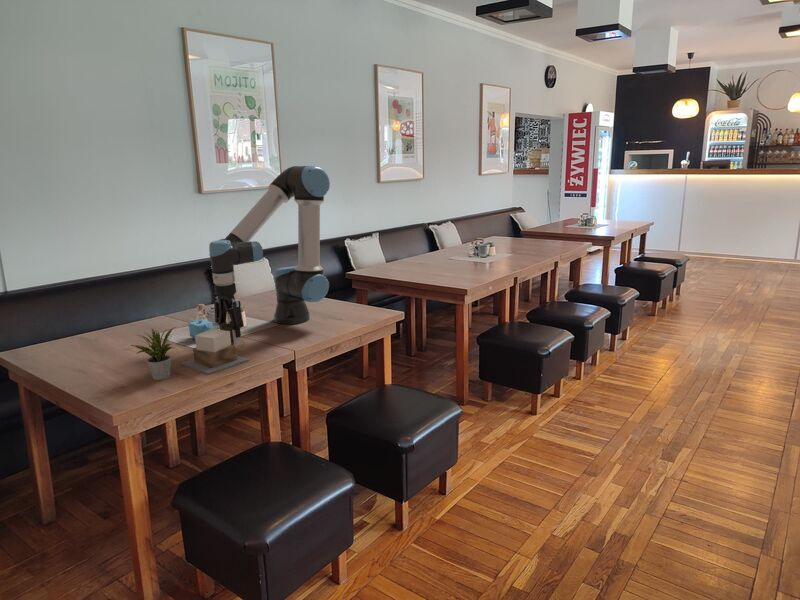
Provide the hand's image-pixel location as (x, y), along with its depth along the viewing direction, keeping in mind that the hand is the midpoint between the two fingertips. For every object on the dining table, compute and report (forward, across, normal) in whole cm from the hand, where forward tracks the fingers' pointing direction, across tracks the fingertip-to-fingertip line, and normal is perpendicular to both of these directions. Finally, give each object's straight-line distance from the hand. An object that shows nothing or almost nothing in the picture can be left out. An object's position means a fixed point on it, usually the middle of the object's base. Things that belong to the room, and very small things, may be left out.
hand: (231, 343), depth 210 cm
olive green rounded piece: (+1, 0, 0) cm, 1 cm away
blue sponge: (+2, -20, 0) cm, 20 cm away
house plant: (+1, +6, -30) cm, 31 cm away
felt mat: (+1, +10, -14) cm, 17 cm away
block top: (-4, +10, -13) cm, 17 cm away
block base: (+1, +10, -14) cm, 17 cm away
